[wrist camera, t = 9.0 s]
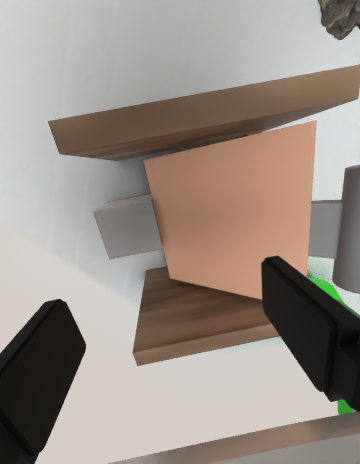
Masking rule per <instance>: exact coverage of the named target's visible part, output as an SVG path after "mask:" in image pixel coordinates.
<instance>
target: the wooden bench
mask: <svg viewBox="0 0 360 464" xmlns="http://www.w3.org/2000/svg"><path fill="white" fill-rule="evenodd" d="M359 88H360V65H355V66H349V67H344V68H338V69H333V70H327V71H322V72H316V73H311V74H305V75H300V76H294V77H289V78H283V79H278V80H272V81H267V82H261V83H256V84H250V85H245V86H240V87H234V88H229V89H223V90H218V91H212V92H207V93H201V94H196V95H190V96H185V97H179V98H174V99H168V100H163V101H157V102H152V103H146V104H141V105H135V106H130V107H124V108H119V109H113V110H108V111H102V112H97V113H91V114H86V115H80V116H75V117H69V118H64V119H58V120H53V121H48V124H49V126H50V129H51V132H52V134H53V137H54V140H55V143H56V145H57V148H58V151H59V154H63V155H71V156H80V157H89V158H97V159H106V160H115V161H117V160H122V159H127V158H133V157H138V156H143V155H149V154H154V153H159V152H165V151H170V150H175V149H181V148H186V147H191V146H197V145H202V144H208V143H213V142H218V141H224V140H229V139H234V138H240V137H241V138H242V137H247V136H251V135H255V134H260V133H262V132H264V131H266V130H269V129H272V128H275V127H278V126H281V125H284V124H287V123H290V122H292V121H295V120H298V119H301V118H304V117H307V116H310V115H313V114H316V113H319V112H321V111H324V110H327V109H330V108H333V107H336V106H339V105H342V104H345V103H347V102H350V101H353V100H356V99H358V96H359ZM279 336H280V335H279V334H278V332H277V331H276V329H275V328H274V326H273V325H272V323H271V322H270V321H269V319H268V318H267V316H266V315H265V313H264V311H263V306H262V300H261V299H257V298H253V297H248V296H244V295H240V294H236V293H231V292H227V291H223V290H218V289H214V288H210V287H205V286H201V285H197V284H193V283H188V282H184V281H180V280H175V279H171V278H170V275H169V271H168V266H167V267H162V268H157V269H152V270H147V271H146V275H145V281H144V287H143V293H142V299H141V305H140V311H139V317H138V323H137V329H136V335H135V342H134V348H133V355H134V358H135V360H136V363H137V366H140V365H145V364H149V363H154V362H159V361H164V360H169V359H173V358H178V357H182V356H187V355H192V354H197V353H202V352H207V351H212V350H216V349H221V348H226V347H231V346H236V345H240V344H245V343H250V342H255V341H259V340H264V339H269V338H274V337H279Z"/></svg>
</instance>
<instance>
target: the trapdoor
mask: <svg viewBox="0 0 360 464" xmlns="http://www.w3.org/2000/svg"><path fill="white" fill-rule="evenodd" d="M315 136H316V121H312V122H308V123H303V124H299V125H295V126H290V127H286V128H282V129H277V130H273V131H268V132H264V133H260V134H255V135H251V136H247V137H242V138H238V139H234V140H229V141H225V142H220V143H216V144H212V145H207V146H203V147H199V148H194V149H190V150H185V151H181V152H177V153H172V154H168V155H164V156H159V157H155V158H151V159H146V160H143V161H144V165H145V170H146V174H147V179H148V183H149V187H150V192H151V196H152V200H153V205H154V209H155V214H156V218H157V222H158V227H159V231H160V236H161V240H162V244H163V249H164V253H165V257H166V262H167V266H168V271H169V275H170V278H171V279H175V280H180V281H184V282H188V283H193V284H197V285H201V286H205V287H210V288H214V289H218V290H223V291H227V292H231V293H236V294H240V295H244V296H248V297H253V298H257V299H261V300H262V278H261V262H262V261H264V259H265V258H266V257H271V256H276V255H278V256H280V257H281V258H282V259H284V260H285V261H286V262H288V263H289V264H290V265H291V266H293V267H294V268H295V269H297V270H298V271H299V272H300V273H302V274H303V275H304V276H306V277H307V263H308V256H312V257H322V258H332V259H334V268H333V276H332V281H333V282H334V284H336V285H337V286H338V287H340V288H342V289H344V290H347V291H350V292H353V293H359V294H360V165H357V166H352V167H348V168H345V174H344V183H343V191H342V200H322V201H311V199H312V183H313V168H314V152H315Z"/></svg>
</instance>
